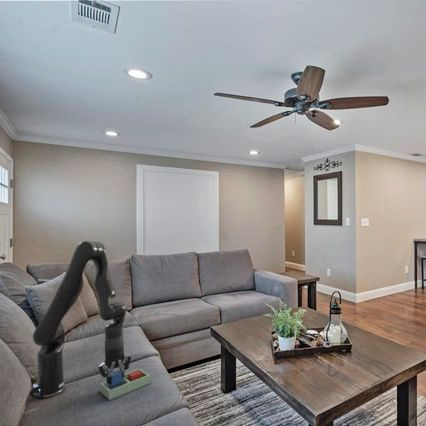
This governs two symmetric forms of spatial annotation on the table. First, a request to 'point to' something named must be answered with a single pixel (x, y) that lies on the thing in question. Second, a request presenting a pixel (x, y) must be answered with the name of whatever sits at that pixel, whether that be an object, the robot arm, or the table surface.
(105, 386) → the sorting tray
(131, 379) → the red block
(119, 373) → the blue block
